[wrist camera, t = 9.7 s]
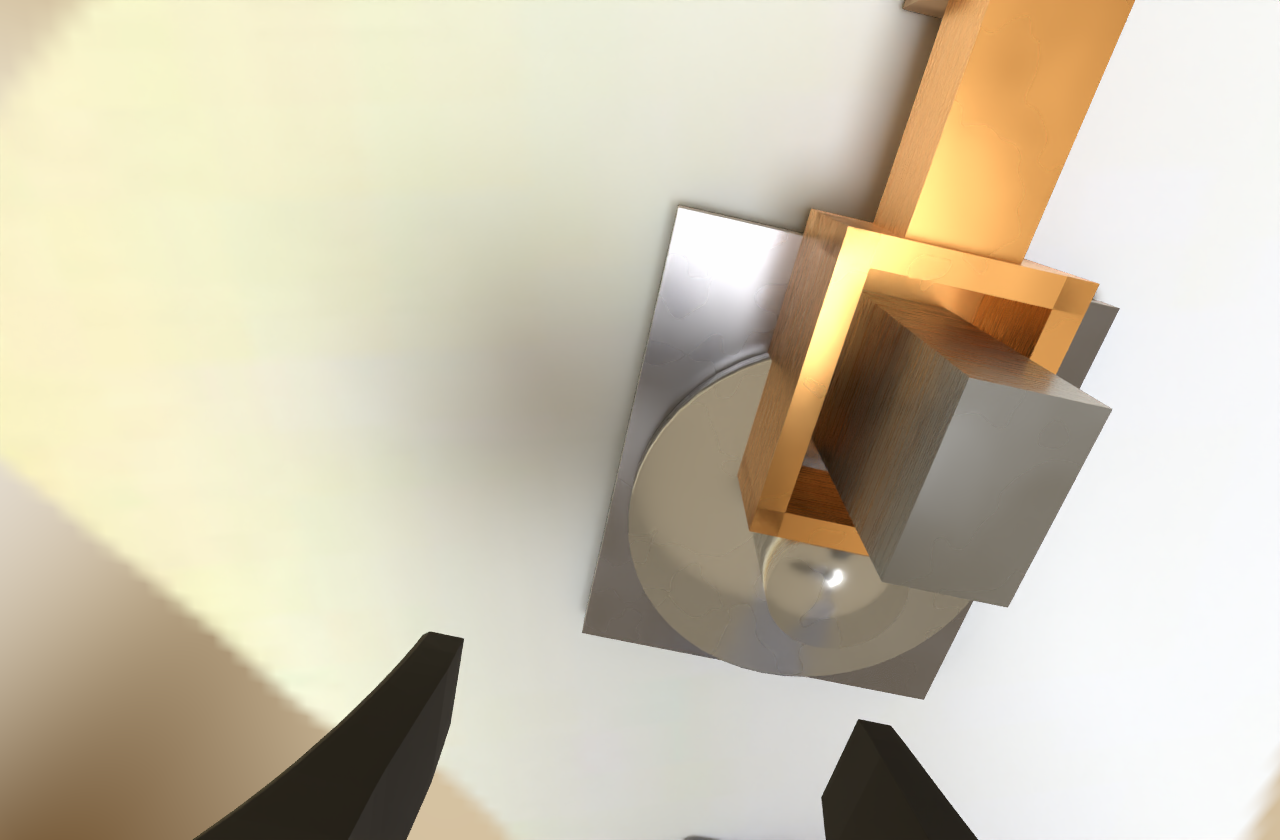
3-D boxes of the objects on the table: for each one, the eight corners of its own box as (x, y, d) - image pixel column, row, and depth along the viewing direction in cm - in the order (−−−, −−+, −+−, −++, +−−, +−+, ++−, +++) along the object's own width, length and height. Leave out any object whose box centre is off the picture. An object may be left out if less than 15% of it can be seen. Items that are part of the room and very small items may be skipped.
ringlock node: (916, 682, 24) (969, 799, 20) (584, 617, 23) (566, 723, 19) (1253, -9, 16) (1470, -64, 12) (755, -136, 15) (790, -243, 11)
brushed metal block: (890, 446, 19) (1007, 607, 12) (807, 428, 19) (881, 581, 12) (945, 307, 17) (1112, 408, 11) (855, 287, 17) (969, 377, 11)
